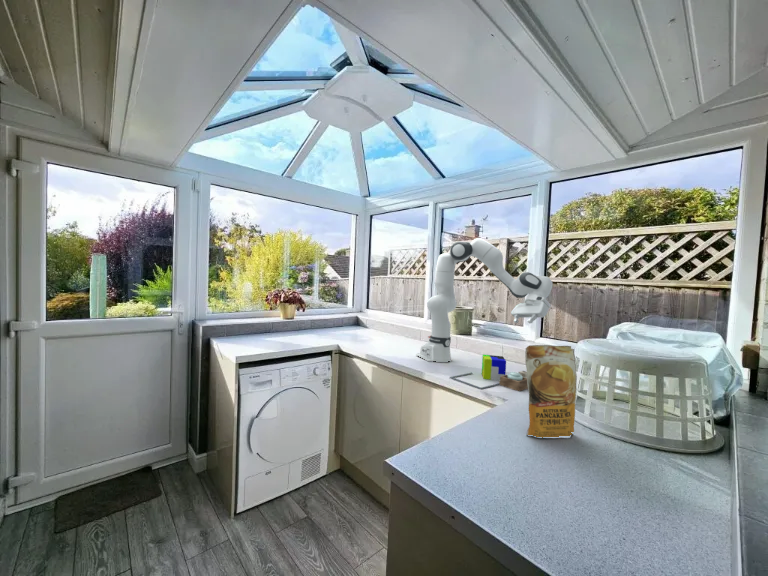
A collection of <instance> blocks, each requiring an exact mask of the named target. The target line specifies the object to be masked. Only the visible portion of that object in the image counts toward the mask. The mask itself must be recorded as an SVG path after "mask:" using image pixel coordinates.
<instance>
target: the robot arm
mask: <svg viewBox="0 0 768 576" xmlns="http://www.w3.org/2000/svg"><path fill="white" fill-rule="evenodd" d="M471 257H474V258H476V259H478V260H479V261H480V262H481V263H482V264H484V265H485V266H486V267H487V268H488V270H490V273H492V274H493V275H494V277H495V278H497V279H498V280H499V282H501V283H502V284H503V285H504V286H505V287H506V288H507V289H508V290H509V292H510V294H511V296H513V297H516V298H517V299H519V298H520V299H521V298H522V299H523V298H525V297H526V298H525V299H524V302H520V303H518V304H516V305H515V307H514V308H513V309H512V310H511V313H510V314H511V315H512V316H513V318H514V319H513V323H514V324H519V321H520V320H519V319H520V318H523V319H524V318H528V319H527V323H528V324H533V323H534V321H536V320H538V318H545V316H547V314H548V312H549V309H550V308H551V307H552V305H551V303H550V302H549V301H548V299H547V298H548V297H549V295H550V294H551V291H552V289H553V287H554V286H553V285H554V284H553V281H552V279H551V278H550V277H548V276H545V275H536V274H534V273H531V272H530V271H529V272H527V271H525V272H522V273H521V274H520V275H519V276H518V277H517V278H514V277H513V276H512V275H511V274H510V273H509V272H508V271H506V269H505V267H504V263H503V262H504V256H503V252H501V250H500V249H499V248H497V247H496V246H495V245H493V244H492V243H490V242H488V241H487V240H485V239H483V238H480V237H477V238H474V239H473V240H472V241H471V242H468V241H467V242H466V241H455V242H454V243H452V245H451V246H450V248H449V252H443V253H442V254H439V256H438V258H437V260H436V261H437V262H436V266H435V277H434V286H435V287H436V288H435V289H436V292H437V294H436V295H432V296H431V297H430V298H428V300H427V303H426V306H427V309H428V311H429V314H430V319H431V335H429V336H427V338H428V341H426V343H424V344H422V346H421V347H420V351H419V352H418V353H416V354H415V356H416V355H417V356H416V357H418V356H419V358H420V357H421V358H420V359H422V358H423V359H422V360H424V359H425V361H427V362H433V361H436V362H437V363H449V362H448V361H450V362H452V361H451V360H452V356H451V341H452V340H451V326H452V324H451V322H450V319H449V313H452V312H453V311H454V310H455V309H456V308H457V306H458V305H457V304H458V302H457V300H456V296H455V295H456V294H455V288H454V285H455V271H456V266H457V265H456V264H459V263H463V262H466V261H468V260H469V259H470V258H471ZM436 362H435V363H436Z"/></svg>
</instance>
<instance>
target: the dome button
mask: <svg viewBox="0 0 768 576" xmlns="http://www.w3.org/2000/svg"><path fill="white" fill-rule="evenodd" d="M507 375H508V378H509V379H512V380H516V381H520V380H522V379H523V376H522V375H520V373H518V371H517V372H516V371H510V372H509V373H507Z"/></svg>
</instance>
